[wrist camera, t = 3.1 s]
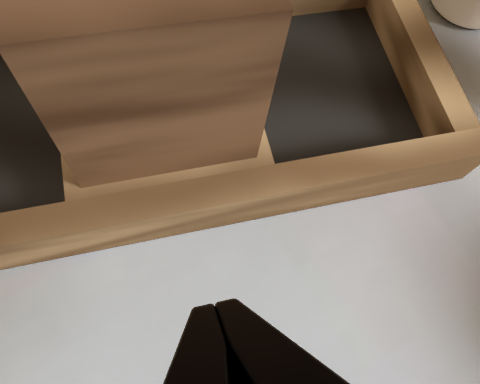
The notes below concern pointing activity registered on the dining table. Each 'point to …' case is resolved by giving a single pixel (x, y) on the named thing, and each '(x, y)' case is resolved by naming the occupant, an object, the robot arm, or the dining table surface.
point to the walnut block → (146, 79)
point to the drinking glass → (460, 12)
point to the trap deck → (262, 141)
